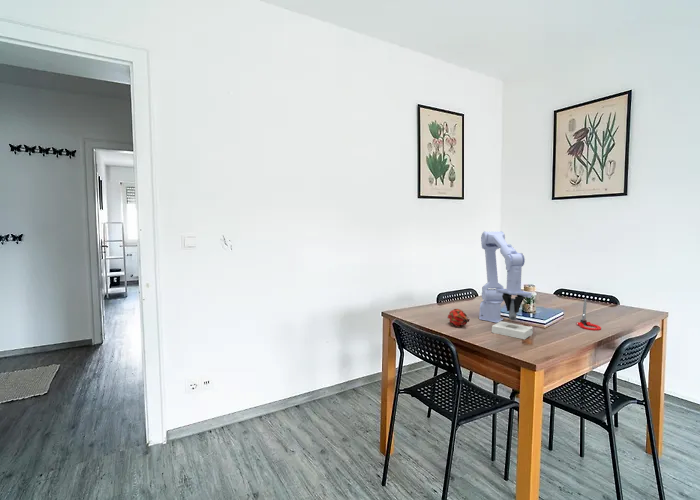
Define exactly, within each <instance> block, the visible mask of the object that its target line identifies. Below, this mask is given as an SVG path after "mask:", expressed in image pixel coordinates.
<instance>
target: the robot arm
mask: <svg viewBox="0 0 700 500" xmlns="http://www.w3.org/2000/svg"><path fill="white" fill-rule="evenodd" d="M480 241H481V248H482V249H483V250H484V254H485V265H486V268H485V269H486V279H487V283H485V284H483V286H482V288H481V299H482V301H481V302H480V304H479V317H478V319H479V320H481V321H482V320H483V321H486V322H491V323H495V324H497V323H498V322H500V321H502V322H503V320H504V318H502V317H501V315H502V314H501V311H502V309H501V308H502V304H503V303H505V307H506V312H509V303H510V298H513V297H512V296H515V297H514V298H515V303H516V307H515V312H516V313H519V311H520V309H521V305H522V303H523V302H524V299H525V298H528V299H531V298H532V295H533V293H532V292H529V291H524V290H522V289H521V288H522V269H523V267H524V265H525V260H526V259H525V256H524V254H523V253H522V252H518V251H517V250H516V249H515V248H514V247H513V245H512V244H510V243H509V244H508V242H507V241H506V235H505V233H504V231H502V230H500V231H485V230H483V232H482V233H481V236H480ZM497 250H499V252H500V254H501V255H502V257H503V258H504V262H505V263H504V264H505V270H506V288H504V286H503V285H502V284H501V283H500V282H499V280H498V277H499V276H498V267H497V265H498V264H497V255H496V253H497V252H496V251H497Z"/></svg>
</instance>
